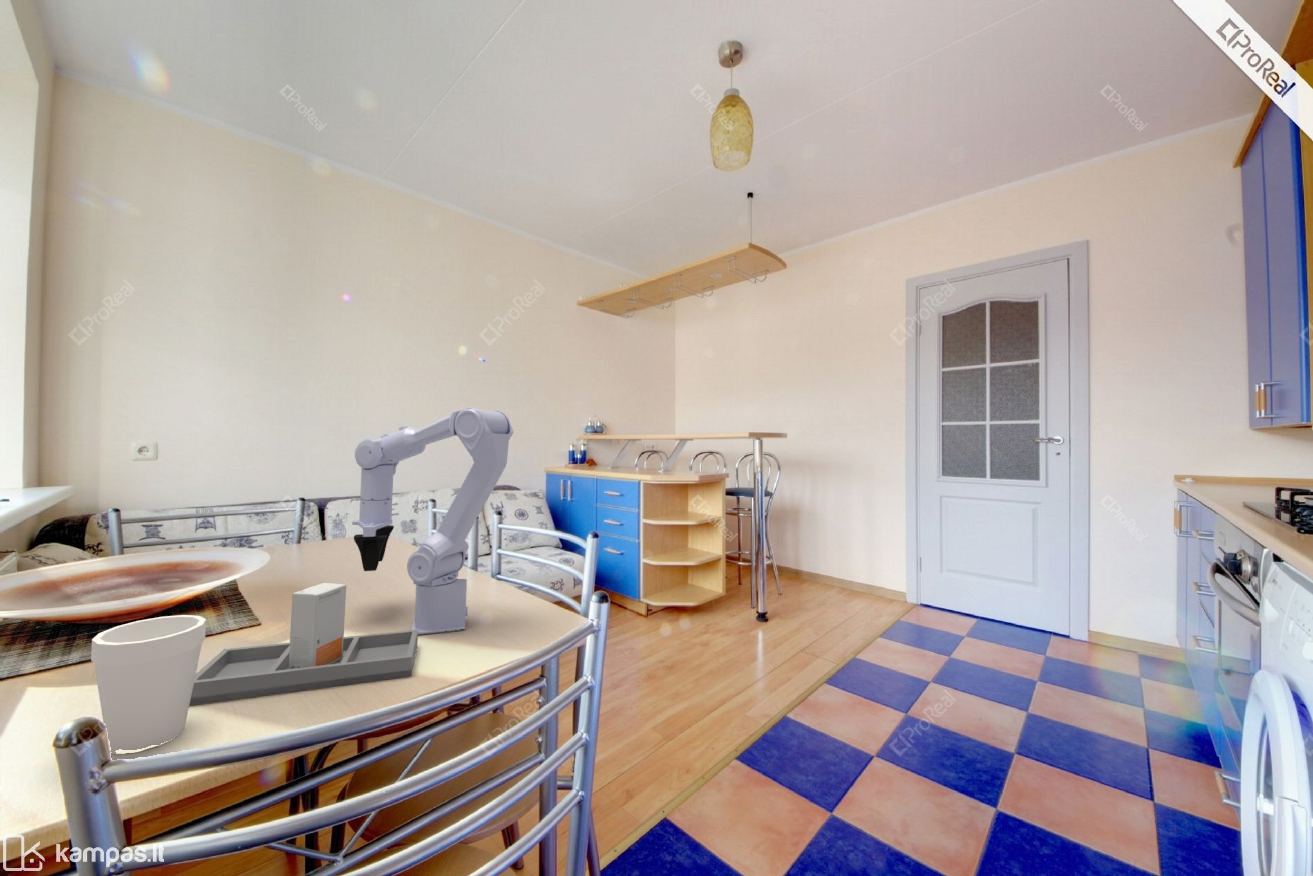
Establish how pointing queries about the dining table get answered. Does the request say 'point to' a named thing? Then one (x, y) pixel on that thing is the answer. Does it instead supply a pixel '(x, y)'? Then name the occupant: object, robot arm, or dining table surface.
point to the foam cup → (147, 678)
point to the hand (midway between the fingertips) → (373, 565)
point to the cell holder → (270, 673)
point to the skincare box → (317, 625)
